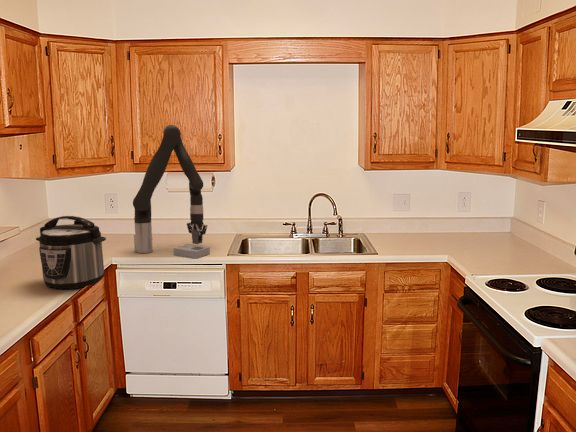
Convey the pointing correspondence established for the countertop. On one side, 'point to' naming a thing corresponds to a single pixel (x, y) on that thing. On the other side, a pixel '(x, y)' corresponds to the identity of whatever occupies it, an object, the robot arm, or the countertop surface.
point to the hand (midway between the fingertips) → (197, 240)
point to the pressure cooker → (71, 253)
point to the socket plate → (191, 251)
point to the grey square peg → (195, 236)
